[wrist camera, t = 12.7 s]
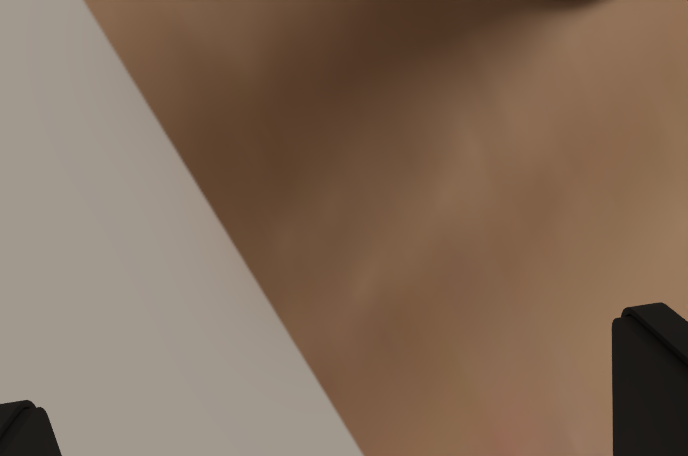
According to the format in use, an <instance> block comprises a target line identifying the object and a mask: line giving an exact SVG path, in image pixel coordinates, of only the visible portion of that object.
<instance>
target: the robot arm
mask: <svg viewBox="0 0 688 456" xmlns="http://www.w3.org/2000/svg"><path fill="white" fill-rule="evenodd" d="M612 395H613V456H688V322H687V321H686V320H685V319H683V318H682V317H681V316H680V315H678V314H677V313H676V312H675V311H673V310H672V309H671V308H670V307H668V306H667V305H666V304H664V303H653V304H647V305H640V306H634V307H627V308H625V309H624V310H623V312H622V315H621V318H615V319H614V320H613V323H612ZM0 456H62V455H61V452H60V449H59V446H58V444H57V441H56V438H55V435H54V432H53V429H52V426H51V423H50V421H49V418H48V415H47V413H46V411H45V410H44V409H43V408H41V407H38V408H36V407H35V405H34V404H33V403H32V402H31V401H29V400H24V401H17V402H11V403H4V404H0Z"/></svg>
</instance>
